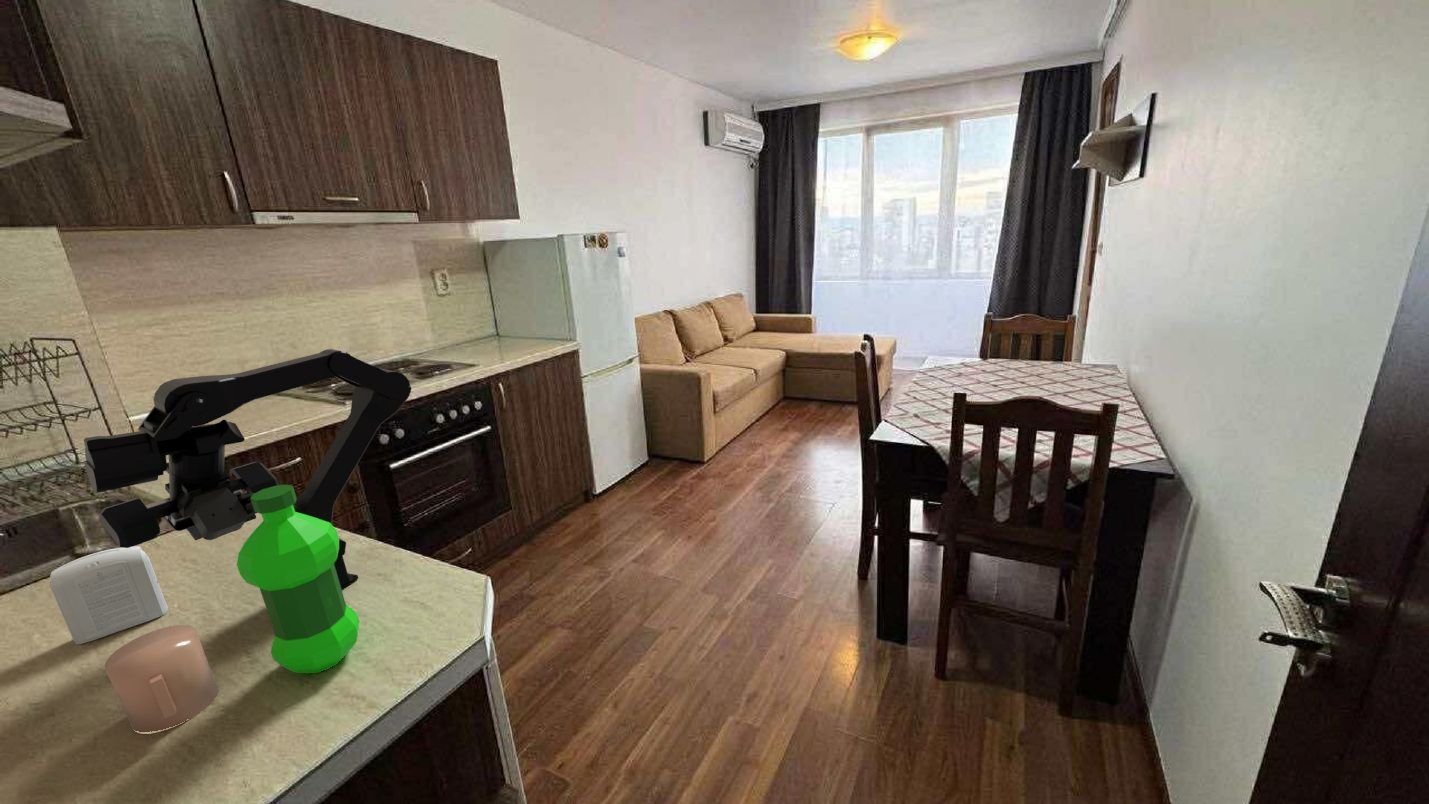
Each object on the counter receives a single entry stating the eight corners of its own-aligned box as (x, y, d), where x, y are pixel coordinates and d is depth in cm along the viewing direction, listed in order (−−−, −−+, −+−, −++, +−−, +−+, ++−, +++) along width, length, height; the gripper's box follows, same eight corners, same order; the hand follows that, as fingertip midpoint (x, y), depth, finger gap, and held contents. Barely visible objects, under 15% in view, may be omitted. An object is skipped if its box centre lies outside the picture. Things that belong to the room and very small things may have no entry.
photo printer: (169, 603, 92) (141, 535, 88) (169, 615, 89) (141, 545, 85) (76, 636, 85) (43, 564, 82) (74, 650, 82) (39, 576, 79)
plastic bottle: (308, 698, 71) (248, 518, 64) (262, 673, 76) (201, 503, 68) (383, 646, 80) (338, 481, 72) (338, 626, 84) (291, 470, 77)
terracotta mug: (133, 707, 71) (106, 648, 69) (216, 672, 77) (194, 616, 74) (130, 754, 65) (100, 690, 62) (221, 712, 70) (197, 652, 67)
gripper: (139, 534, 70) (144, 608, 77) (303, 476, 86) (294, 543, 93) (93, 476, 73) (102, 554, 80) (260, 431, 88) (255, 499, 96)
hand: (196, 537), depth 87 cm, fingers closed
